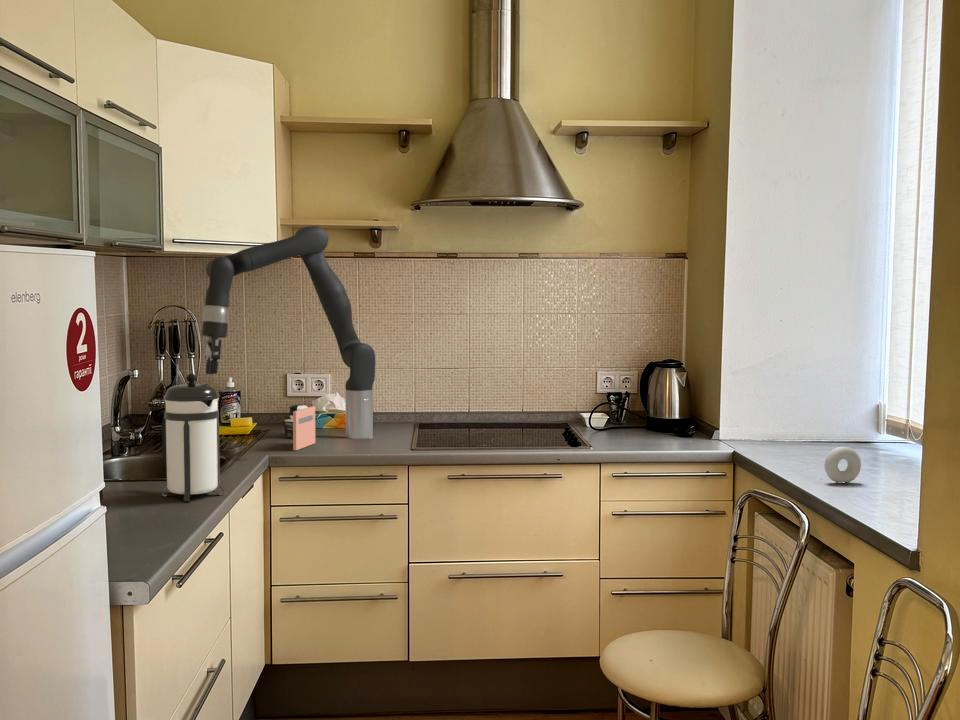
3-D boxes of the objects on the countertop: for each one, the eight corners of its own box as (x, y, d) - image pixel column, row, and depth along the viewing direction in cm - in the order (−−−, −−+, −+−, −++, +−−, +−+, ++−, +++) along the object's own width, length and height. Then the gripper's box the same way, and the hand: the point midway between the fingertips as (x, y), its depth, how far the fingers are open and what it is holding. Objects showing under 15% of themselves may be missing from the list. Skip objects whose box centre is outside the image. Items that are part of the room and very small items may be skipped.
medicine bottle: (284, 440, 291) (283, 405, 291) (297, 437, 298) (297, 403, 297) (300, 442, 288) (300, 407, 287) (314, 439, 294) (314, 404, 294)
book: (312, 442, 280) (312, 406, 279) (315, 443, 279) (315, 406, 279) (293, 450, 266) (292, 411, 265) (296, 450, 266) (296, 411, 265)
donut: (855, 481, 232) (857, 445, 231) (863, 484, 229) (864, 447, 228) (821, 482, 231) (822, 445, 230) (828, 485, 227) (829, 447, 226)
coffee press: (232, 487, 219) (231, 370, 217) (215, 502, 203) (213, 376, 201) (164, 488, 219) (161, 370, 216) (141, 502, 203) (138, 376, 200)
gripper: (231, 321, 260) (227, 374, 260) (224, 324, 273) (220, 375, 272) (206, 318, 257) (201, 372, 256) (199, 321, 270) (195, 373, 269)
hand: (211, 373), depth 264 cm, fingers open, 8 cm apart
